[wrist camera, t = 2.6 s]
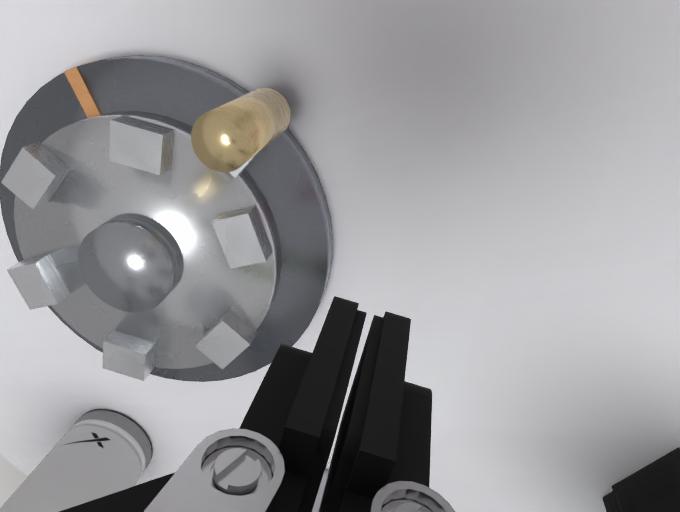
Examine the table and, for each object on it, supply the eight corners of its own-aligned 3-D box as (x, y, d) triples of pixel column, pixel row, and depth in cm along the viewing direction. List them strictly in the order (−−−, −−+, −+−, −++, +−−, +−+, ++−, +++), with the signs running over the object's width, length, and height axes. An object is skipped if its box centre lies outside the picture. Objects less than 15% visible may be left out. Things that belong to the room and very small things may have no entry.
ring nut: (183, 392, 35) (134, 464, 30) (-7, 236, 33) (-99, 284, 27) (392, 202, 27) (378, 254, 22) (162, -26, 24) (79, -33, 19)
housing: (8, 12, 28) (-14, 13, 27) (371, 113, 27) (366, 118, 26) (24, 317, 38) (8, 329, 36) (296, 403, 36) (290, 418, 35)
